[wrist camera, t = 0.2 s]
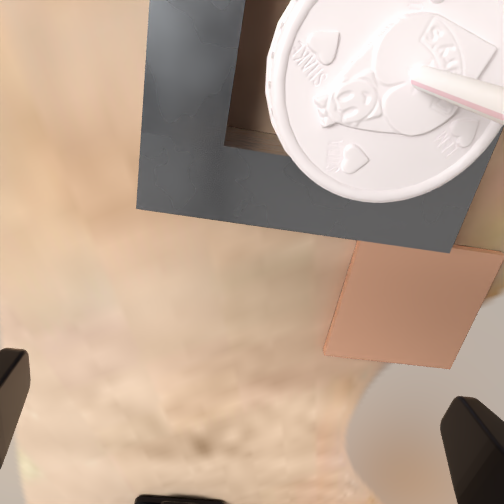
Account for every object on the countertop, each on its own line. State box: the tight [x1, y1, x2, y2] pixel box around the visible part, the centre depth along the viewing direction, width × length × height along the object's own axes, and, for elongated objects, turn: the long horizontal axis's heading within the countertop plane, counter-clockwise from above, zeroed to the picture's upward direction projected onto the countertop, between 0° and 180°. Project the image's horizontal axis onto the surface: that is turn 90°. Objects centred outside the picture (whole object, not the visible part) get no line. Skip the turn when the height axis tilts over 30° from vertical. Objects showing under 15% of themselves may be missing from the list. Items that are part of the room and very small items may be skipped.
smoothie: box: [265, 0, 504, 203], centre depth 14 cm, size 6×6×14 cm
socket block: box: [136, 0, 504, 253], centre depth 18 cm, size 14×14×4 cm
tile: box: [323, 240, 504, 369], centre depth 26 cm, size 8×8×1 cm
